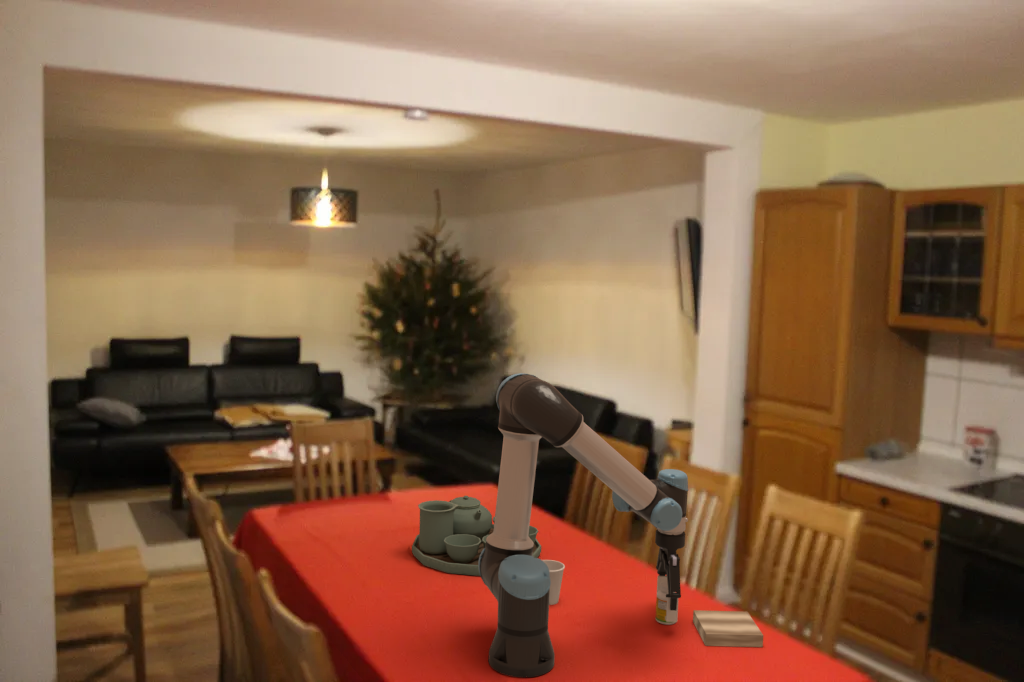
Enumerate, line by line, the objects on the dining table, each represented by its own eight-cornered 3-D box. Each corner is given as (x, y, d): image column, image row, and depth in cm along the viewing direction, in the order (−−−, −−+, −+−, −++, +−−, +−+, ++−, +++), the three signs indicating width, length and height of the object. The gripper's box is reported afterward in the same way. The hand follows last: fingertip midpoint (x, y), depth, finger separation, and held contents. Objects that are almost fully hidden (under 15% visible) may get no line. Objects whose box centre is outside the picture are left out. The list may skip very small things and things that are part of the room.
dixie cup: (537, 608, 231) (539, 571, 230) (528, 595, 239) (530, 560, 238) (567, 605, 233) (569, 569, 232) (557, 593, 241) (559, 558, 240)
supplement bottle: (661, 614, 229) (663, 579, 228) (680, 620, 226) (682, 584, 225) (651, 620, 225) (653, 584, 224) (669, 627, 222) (671, 590, 221)
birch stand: (762, 647, 212) (763, 635, 212) (705, 645, 212) (706, 633, 211) (746, 622, 226) (747, 611, 225) (692, 621, 226) (693, 610, 225)
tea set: (487, 588, 244) (489, 531, 242) (385, 555, 268) (386, 503, 266) (565, 552, 276) (567, 501, 274) (468, 525, 299) (469, 478, 298)
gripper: (695, 547, 211) (691, 631, 213) (675, 516, 236) (671, 591, 238) (665, 546, 211) (660, 630, 213) (647, 515, 235) (644, 591, 238)
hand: (666, 610), depth 225 cm, fingers open, 13 cm apart
